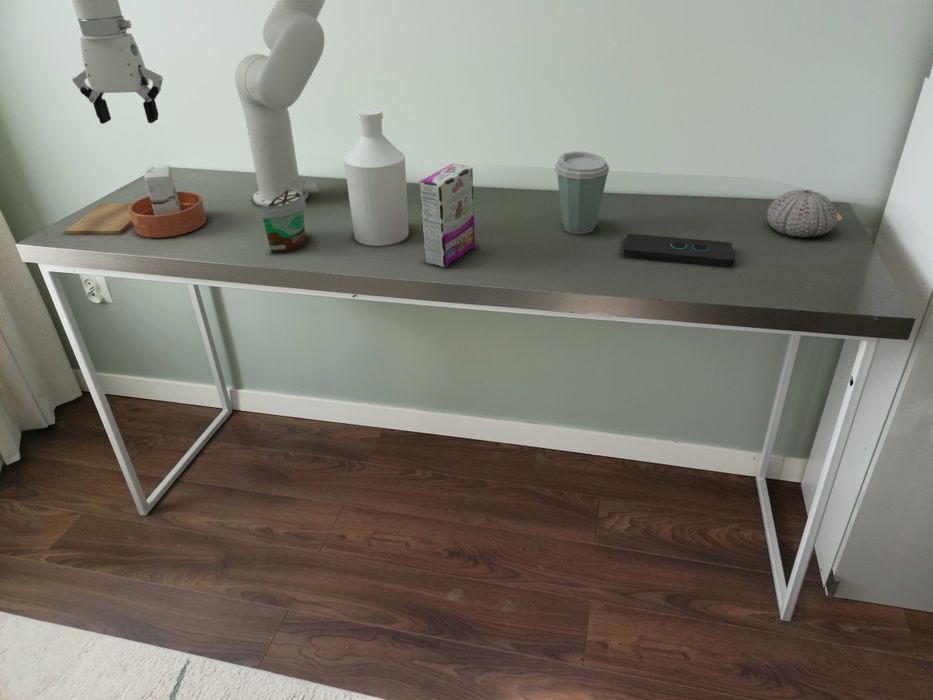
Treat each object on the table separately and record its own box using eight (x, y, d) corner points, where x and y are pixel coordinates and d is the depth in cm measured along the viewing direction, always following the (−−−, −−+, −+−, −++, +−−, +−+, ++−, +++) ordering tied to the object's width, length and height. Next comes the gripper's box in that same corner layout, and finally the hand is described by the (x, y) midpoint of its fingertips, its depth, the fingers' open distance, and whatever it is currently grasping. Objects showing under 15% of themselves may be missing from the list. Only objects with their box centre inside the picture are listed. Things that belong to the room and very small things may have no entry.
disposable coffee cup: (613, 227, 146) (620, 156, 138) (584, 243, 140) (589, 170, 131) (572, 215, 152) (576, 146, 144) (542, 230, 146) (544, 159, 138)
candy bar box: (454, 242, 142) (452, 162, 133) (475, 247, 139) (474, 166, 130) (423, 263, 134) (417, 180, 125) (444, 269, 131) (441, 184, 122)
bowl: (216, 212, 158) (211, 191, 155) (191, 238, 146) (185, 216, 143) (152, 212, 159) (146, 191, 156) (122, 238, 146) (115, 216, 144)
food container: (297, 258, 137) (289, 209, 131) (268, 256, 138) (258, 208, 132) (320, 233, 147) (313, 187, 141) (293, 231, 148) (285, 185, 142)
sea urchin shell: (760, 236, 141) (768, 198, 137) (767, 212, 151) (775, 176, 147) (832, 246, 136) (843, 207, 132) (834, 222, 146) (844, 185, 142)
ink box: (183, 229, 149) (169, 175, 143) (158, 232, 148) (143, 178, 142) (182, 215, 156) (169, 163, 150) (159, 218, 155) (144, 166, 148)
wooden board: (152, 206, 162) (151, 203, 161) (120, 234, 148) (119, 230, 148) (102, 206, 163) (101, 203, 162) (66, 234, 149) (64, 230, 149)
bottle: (379, 251, 139) (366, 123, 125) (341, 235, 145) (325, 113, 132) (421, 233, 146) (414, 110, 132) (383, 219, 153) (373, 100, 139)
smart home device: (733, 259, 128) (623, 249, 133) (732, 267, 129) (622, 257, 134) (732, 241, 135) (627, 232, 140) (730, 249, 136) (626, 240, 141)
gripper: (157, 23, 132) (179, 116, 141) (68, 25, 133) (96, 117, 142) (139, 30, 126) (164, 126, 135) (46, 31, 127) (77, 127, 136)
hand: (129, 121), depth 139 cm, fingers open, 9 cm apart
